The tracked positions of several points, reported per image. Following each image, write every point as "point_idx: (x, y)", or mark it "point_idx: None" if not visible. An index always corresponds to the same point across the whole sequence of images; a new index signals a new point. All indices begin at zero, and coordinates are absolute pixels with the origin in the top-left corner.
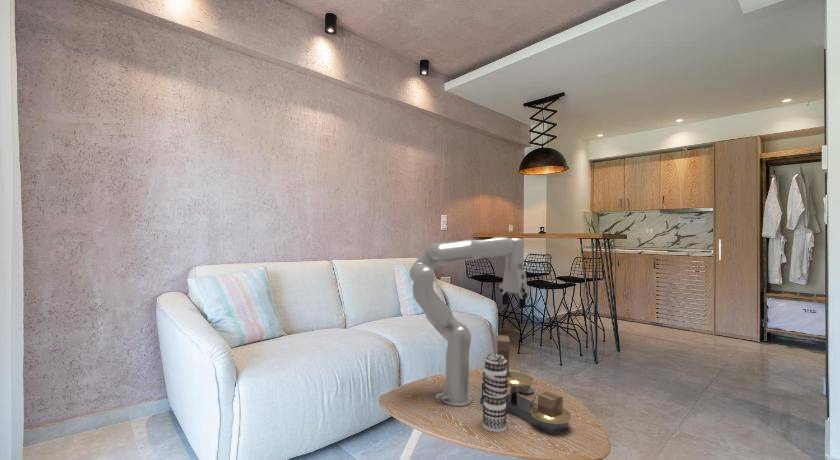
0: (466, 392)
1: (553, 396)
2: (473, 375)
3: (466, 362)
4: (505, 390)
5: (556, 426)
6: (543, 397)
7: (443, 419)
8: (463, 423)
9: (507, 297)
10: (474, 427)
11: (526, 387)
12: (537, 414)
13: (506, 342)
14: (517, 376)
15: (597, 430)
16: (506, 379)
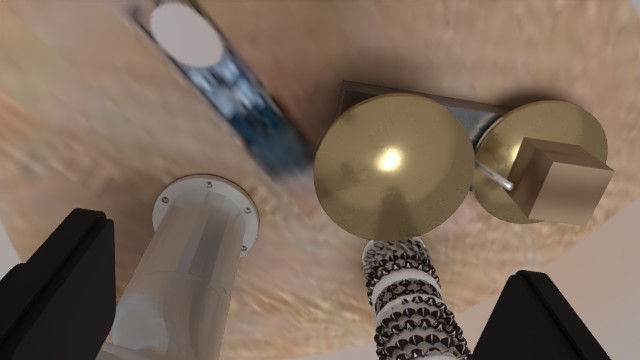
0: (241, 235)
1: (582, 194)
2: None
3: (224, 317)
4: (438, 302)
5: None
6: (549, 219)
7: (279, 318)
8: (328, 299)
9: (42, 354)
10: (361, 294)
11: None
12: (510, 209)
13: None
14: (397, 153)
15: None
16: (381, 216)
